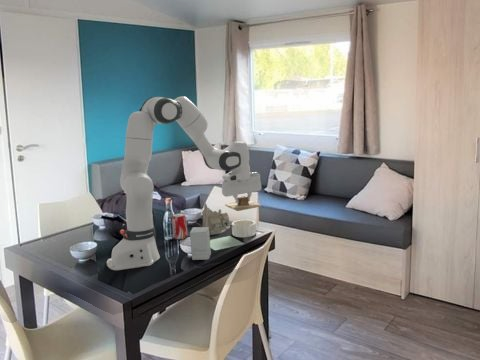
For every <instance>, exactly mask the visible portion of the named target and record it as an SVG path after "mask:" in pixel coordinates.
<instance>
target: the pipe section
mask: <svg viewBox="0 0 480 360" xmlns="http://www.w3.org/2000/svg"><path fill="white" fill-rule="evenodd" d="M256 225H257V223H256V221H255V220H252V219H239V220H235V221H232V222H231V232H232V233H231V234H232V237H234V238H235V237H236V238H250V237H253V236H255V235H256V234H257V227H256Z"/></svg>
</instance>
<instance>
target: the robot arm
mask: <svg viewBox="0 0 480 360" xmlns="http://www.w3.org/2000/svg"><path fill="white" fill-rule="evenodd" d="M173 122H177V124H178V125H179V126H180V128H181V129H182V130H183V131H184V132H185V134H186V135H187V136H188V137H189V138H190V139H191V141H192V143H193V144H194V145H195V147H196V148H197V150H198V151H199V152H200V154H201V155H202V158H203V162H204V165H206V167H207V168H209V169H210V170H218V171H223V172H227V173H225V174H223V175H222V183H221V195H223V196H224V197H231V196H232V197H233V198H234V200H235V202H236V203H237V204H238V203H240V200H239V199H237V197H239V196H238V195H244V194H247V196H246V197H248V201H251V199H250V198H251V197H252V193H255V192H261V190H262V181H261V174H260V173H259V172H257V171H255V172H251V167H250V152H249V151H250V150H249V146H248V144H247V142H245V141H237V140H232V141H231V143H230V144H229V145H228V146H227V147H225V148H224V149H221V148H220V149H219V148H216V147H214V146H213V145H212V144H211V142H210V141H209V139H208V138H207V137H206V135H205V133H206V131H207V129H208V127H209V125H208V124H209V122H208V120H207V119H206V117H205V115H204V113H202V111H201V110H200V109H199V108H198V107H197V105H196V104H195V103H193V101H191V100H190V99H189V98H188V97H187V96H183V95H182V96H178V97H176V98H174V99H172V98H169V97H162V96H153V97H149V98H147V99H146V100H144V101H143V103H142V105H141V107H140V109H139V110H138V111H133V112H132V113H131V114H130V116H129V117H128V121H127V125H126V131H125V142H124V156H123V162H122V166H121V171H120V172H121V173H120V178H119V184H120V187H121V189H122V190H123V192H125V197H126V203H125V204H126V205H125V206H126V207H125V218H126V219H125V220H126V229H125V230H124V229H120V231H119V234H121V235H122V236H123V238H122V239H121V240H120V241H119V242H118V243H117V244H116V245H115V246H113V248H112V251H111V258H107V261H106V266H107V267H108V269H110V270H112V271H122V270H129V269H136V268H142V267H149V266H152V265H153V264H154V263H155V262H157V261H158V260H159V259H160V258H161V256H160V254H159V253H160V252H159V250H158V247H157V242H156V229H155V225H154V219H153V196H154V194H153V193H154V188H155V186H154V182H153V180H152V178H151V177H150V176H149V175H148V169H149V164H150V161H151V160H152V155H153V154H152V152H153V141H154V140H153V139H154V138H153V137H154V129H155V127H156V125H157V124H160V125H161V124H165V125H168V124H171V123H173Z"/></svg>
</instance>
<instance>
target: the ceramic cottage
mask: <svg viewBox="0 0 480 360" xmlns="http://www.w3.org/2000/svg"><path fill="white" fill-rule="evenodd" d="M201 214H202V227H209V236H211V235H212V236H213V235H219V234H222V233H224V232H226V231H227V230H229V229H230V228H231V226H230V218H229V217H230V216H229V215H228V212H222V209H220V208H219V209H218V211H217V210H214V211H213V210H212V209H211V208H209V207H208V205H207V203H206V202H204V203H203V210H202V212H201Z"/></svg>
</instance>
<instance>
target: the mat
mask: <svg viewBox="0 0 480 360" xmlns="http://www.w3.org/2000/svg"><path fill="white" fill-rule="evenodd" d="M241 245H245V243H244V242H242V241H240V240H238V239H237V238H235V237H234V236H231V235H227V236H222V237H217V238H214V239H212V238H211V239H210V249H212V250H214V251H219V250H224V249H229V248H232V247H233V248H234V247H238V246H241Z"/></svg>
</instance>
